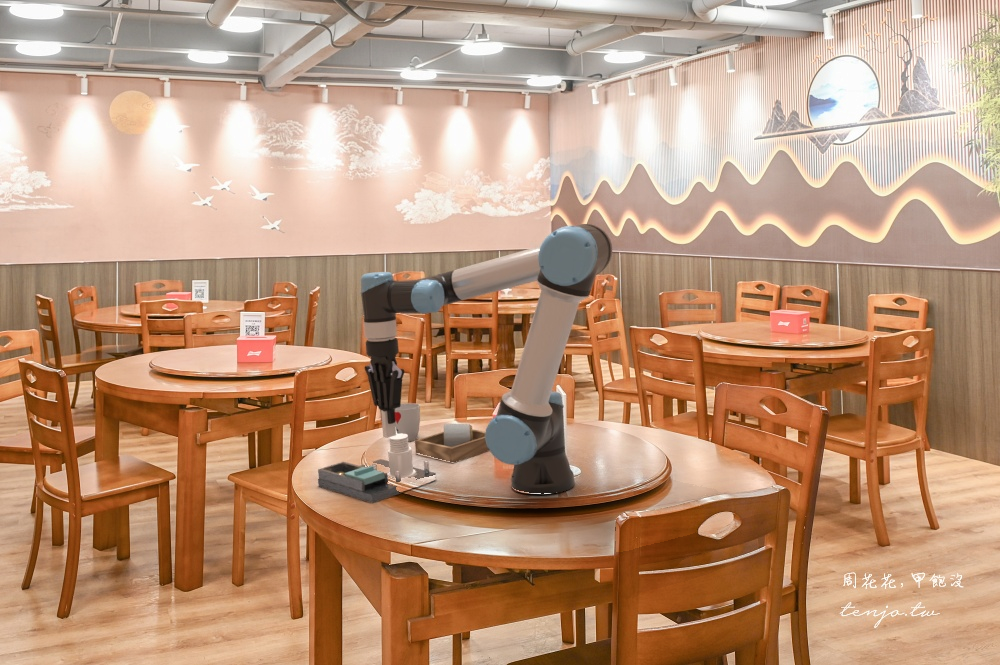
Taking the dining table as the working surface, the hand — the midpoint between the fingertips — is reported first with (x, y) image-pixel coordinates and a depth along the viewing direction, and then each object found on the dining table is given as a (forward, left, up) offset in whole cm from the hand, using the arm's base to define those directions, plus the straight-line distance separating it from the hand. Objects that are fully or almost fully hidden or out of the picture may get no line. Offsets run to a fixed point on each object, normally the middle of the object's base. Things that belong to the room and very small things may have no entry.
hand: (389, 436), depth 215 cm
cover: (+7, +3, -11) cm, 13 cm away
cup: (+36, -35, -15) cm, 52 cm away
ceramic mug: (+16, -36, -15) cm, 42 cm away
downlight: (+5, -7, -13) cm, 15 cm away
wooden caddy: (+14, -34, -14) cm, 39 cm away
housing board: (+10, -3, -14) cm, 18 cm away
